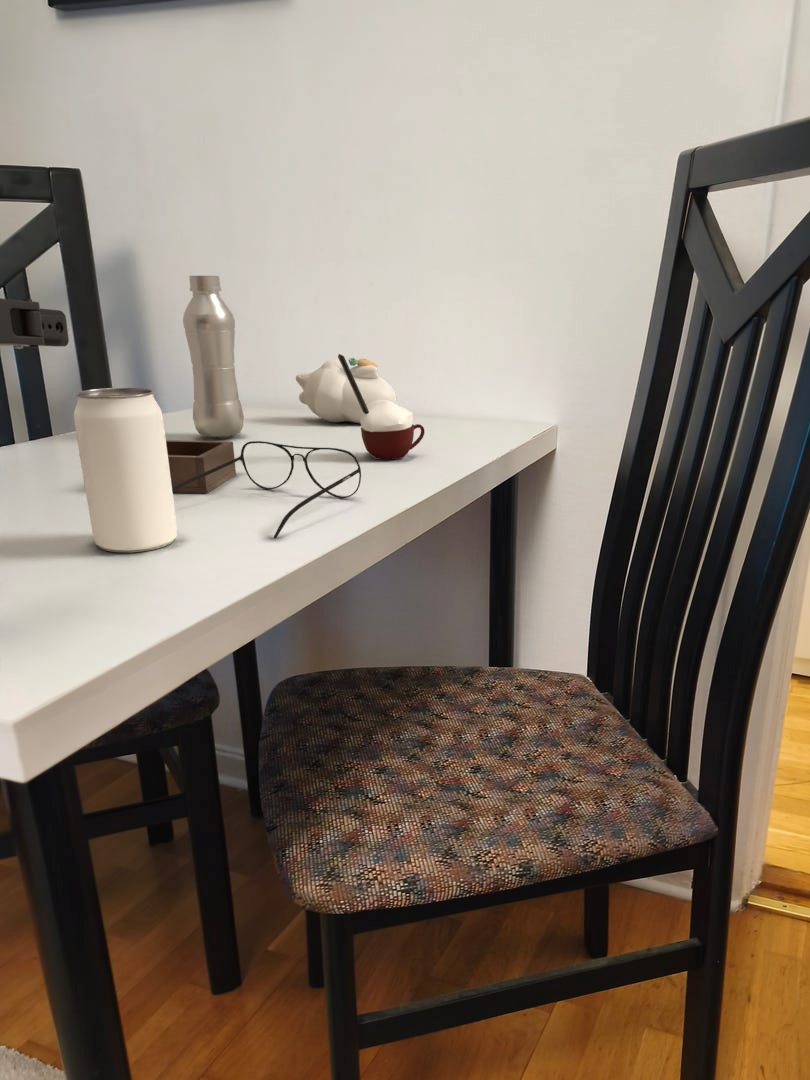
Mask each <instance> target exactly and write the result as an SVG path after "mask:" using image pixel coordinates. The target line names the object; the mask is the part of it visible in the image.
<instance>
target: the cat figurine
mask: <svg viewBox="0 0 810 1080" xmlns="http://www.w3.org/2000/svg"><path fill="white" fill-rule="evenodd" d="M347 360H348V363H349V366H351V368H349V369H350V371H351V373H352V375H353V377H354V380H355V382H356V384H357V386H358V388H359V391H360V393H361V395H362V397H363V400H364V402H365V404H366V405H367V404H368V403H370V402H373V401H376V400H388V401H391V402H393V403H395V404H396V405H398V396H397V394H396V392H395V390H394V388H393V387H392V386H391V384H389V383H388V382H387V381H386V379H385V380H384V378H382V377H380V376H379V374H378V367H379V365H378V364H377V363H376V362H374V361H372V360H370V359H368V358H367V359H366V358H359V359H356V358H355V357H352V358H350V357H349V359H347ZM352 366H353V367H352ZM295 381H296V382H297V384H298V385H299V386H300V387H301V389H302V391H301V392H300V393H299V395H298V400H299V402H300V403H302V404H304V405H306V406H307V407H308V408H309V410H310V411H311V412H312V413H314V414H315V415H316V416H317V417H319V418H321V419H323V420H325V421H327V422H331V423H342V422H346V421H347V422H350V423H353V424H354V423H356V424H361V423H360V418H361V414H362V409H361V407H360V404H359V402H358V400H357V398H356V396H355V393H354V391H353V389H352V387H351V385H350V382H349V380H348V378H347V376H346V374H345V371H344V369H343V367H342V365H341V363H340V360H339V358H332V359H329V360H326V361H325V362H323V364H322V365H321V366H320V367H318V368H317V369H315V370H314V371H312V372H309V373H298V374H296V375H295Z"/></svg>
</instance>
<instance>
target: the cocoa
mask: <svg viewBox="0 0 810 1080" xmlns="http://www.w3.org/2000/svg"><path fill="white" fill-rule="evenodd" d="M337 359H338V360H340V363H341V365H342V367H343V369H344V371H345V374H346V376H347V378H348V380H349V382H350V385H351V387H352V389H353V391H354V393H355V396H356V398H357V400H358V402H359V404H360V407H361V409H362V414H361V418H360V423H359V424H360V426H361V427H360V433H361V438H362V442H363V445H364V447H365V450H366V452H367V453H368V454H369V455H370V456H371V457H373V458H374V459H377V460H381V461H383V460H386V461H387V460H388V461H389V460H397V459H398V460H399V459H401V458H404V457H406V455H408V454H409V452H410V450H412V449H414V448H415V447H416V446H418V445H419V444H420V442H421V441H422V440H423V438H424V436H425V427H424V426H423V425H421V424H419V423H416V424H413V423H414V415H413V412H411V411H410V410H408V409H406V408H405V407H402V406H400V405H398V404H397V405H396V404H395V403H393V402H391V401H388V400H376V401H373V402H370V403H368V404H367V405H366V404H365V402H364V400H363V397H362V395H361V393H360V391H359V388H358V386H357V384H356V382H355V380H354V377H353V375H352V373H351V371H350V369H351V368H350V365H349V364H348V362H347V360H346V357H345V356H344V355H343V354H340V353H338V355H337ZM416 429H419V430H420V434H419V436H418V437H417V438H416V440H415V441H414V437H415V436H414V434H415V430H416Z"/></svg>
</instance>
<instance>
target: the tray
mask: <svg viewBox="0 0 810 1080" xmlns="http://www.w3.org/2000/svg"><path fill="white" fill-rule="evenodd" d="M166 446H167V453H168V461H169V469H170V477H171V485H172V487H174V486H176V485H178V484H180V483H182V482H184V481H186V480H188V479H190V478H193V477H195V476H197V475H199V474H202V473H204V472H206V471H208V470H211V469H213V468H215V467H218V466H220V465H222V464H224V463H227V462H229V461H231V460H234V459H236V457H235V449H234V442H233V441H232V440H231V441H228V440H181V439H166ZM236 475H237V470H236V462H234V463H232V464H230V465H228V466H226V467H224V468H222V469H219V470H217V471H215V472H213V473H211V474H208V475H206V476H204V477H202V478H199V479H197V480H195V481H193V482H191V483H189V484H187V485H185V486H183V487H181V488H179V489H177V490H175V491H173V494H174V493H177V494H178V493H179V494H209V493H210V492H212V491H213V490H214V489H216V488H217V487H219V486H221V485H222V484H224V483H225V482H227V481H228V480H230V479H231V478H233V477H235V476H236Z"/></svg>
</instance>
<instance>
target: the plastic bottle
mask: <svg viewBox="0 0 810 1080" xmlns="http://www.w3.org/2000/svg"><path fill="white" fill-rule="evenodd" d="M188 279H189V291H190V292H192V297H191V299H190V301H189V302H188V304H187V305H186V308H185V310H184V312H183V317H182V324H183V329H184V333H185V338H186V342H187V346H188V350H189V354H190V363H191V367H192V368H191V369H192V375H193V376H192V377H193V405H192V420H193V421H192V422H193V424H194V428H195V430H196V431H197V433H198V434H199V435H200V436H204V437H210V438H214V439H226V438H229V437H232V436H235V435H239V434H240V433H242V430H243V428H244V421H245V420H244V419H245V415H244V409H243V406H242V401H241V400H240V396H239V390H238V383H237V378H236V366H235V340H236V339H235V337H236V330H235V329H236V320H235V317H234V314H233V312H232V310H231V309H230V307H229V306H228V304H227V303H226V302H225V301H224V300H223V298H222V297H221V293H220V292H222V287H221V282H220V275H189V276H188Z"/></svg>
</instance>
